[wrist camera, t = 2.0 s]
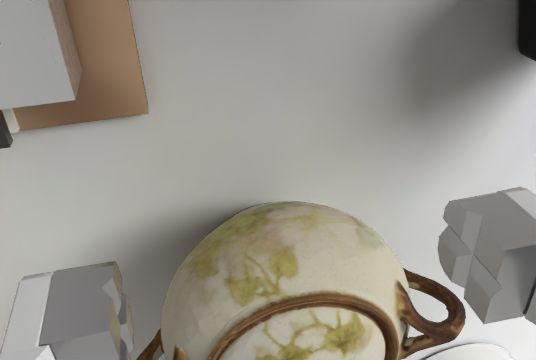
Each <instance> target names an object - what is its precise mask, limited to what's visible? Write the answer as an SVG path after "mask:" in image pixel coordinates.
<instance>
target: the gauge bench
mask: <svg viewBox="0 0 536 360" xmlns="http://www.w3.org/2000/svg"><path fill="white" fill-rule="evenodd" d="M64 3H65V7H66V11H67V15H68V19H69V23H70V27H71V30H72V34H73V38H74V42H75V46H76V50H77V53H78V57H79V61H80V65H81V69H82V74H81V78H80V82H79V86H78V91H77V95H76V99H75V100H72V101H64V102H56V103H48V104H41V105H33V106H25V107H17V108H9V109H1V110H2V112H3V115H4V118H5V120H6V123H7V126H8V128H9V131H10V134H11V133H18V132H19V131H22V130H29V129H37V128H44V127H52V126H59V125H67V124H74V123H82V122H89V121H97V120H104V119H111V118H119V117H126V116H134V115H141V114H148V103H147V98H146V93H145V88H144V82H143V77H142V72H141V67H140V61H139V56H138V51H137V46H136V40H135V35H134V30H133V25H132V20H131V14H130V9H129V4H128V0H64Z"/></svg>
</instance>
